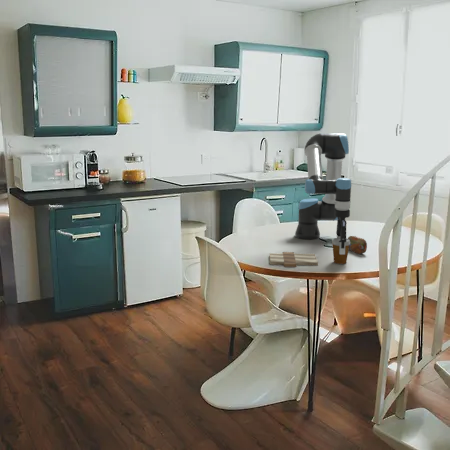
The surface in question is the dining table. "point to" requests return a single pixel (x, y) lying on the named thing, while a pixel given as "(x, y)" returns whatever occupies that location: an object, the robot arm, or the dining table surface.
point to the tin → (357, 245)
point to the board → (292, 259)
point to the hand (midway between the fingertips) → (340, 251)
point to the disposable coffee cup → (336, 247)
